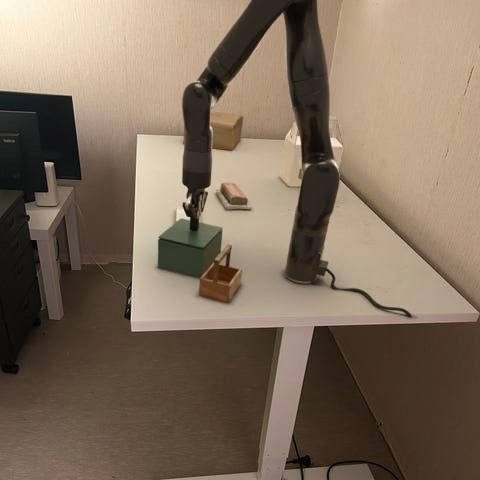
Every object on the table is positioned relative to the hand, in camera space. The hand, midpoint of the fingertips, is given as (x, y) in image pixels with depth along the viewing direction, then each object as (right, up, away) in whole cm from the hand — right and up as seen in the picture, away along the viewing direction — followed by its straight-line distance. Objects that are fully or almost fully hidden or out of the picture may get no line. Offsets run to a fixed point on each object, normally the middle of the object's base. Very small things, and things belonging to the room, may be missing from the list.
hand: (194, 229), depth 129 cm
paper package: (-2, +70, +120) cm, 139 cm away
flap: (0, 0, +2) cm, 2 cm away
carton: (-2, -9, +4) cm, 10 cm away
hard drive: (-5, +9, +30) cm, 31 cm away
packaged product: (+10, +20, +48) cm, 53 cm away
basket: (+7, -18, -8) cm, 21 cm away
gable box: (+43, +36, +78) cm, 96 cm away
